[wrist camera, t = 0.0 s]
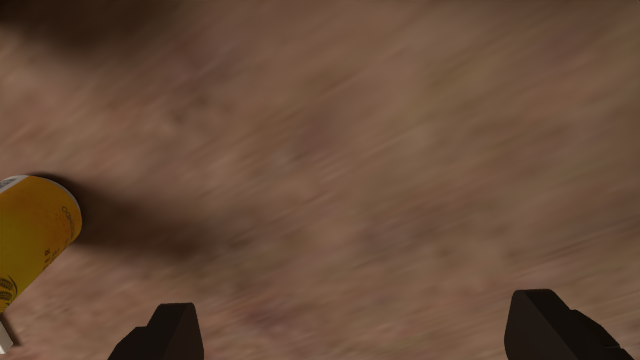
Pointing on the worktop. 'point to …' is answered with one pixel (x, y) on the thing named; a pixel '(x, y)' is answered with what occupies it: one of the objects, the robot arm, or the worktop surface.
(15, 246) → the beer can
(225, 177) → the worktop surface
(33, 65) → the worktop surface
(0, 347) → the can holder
